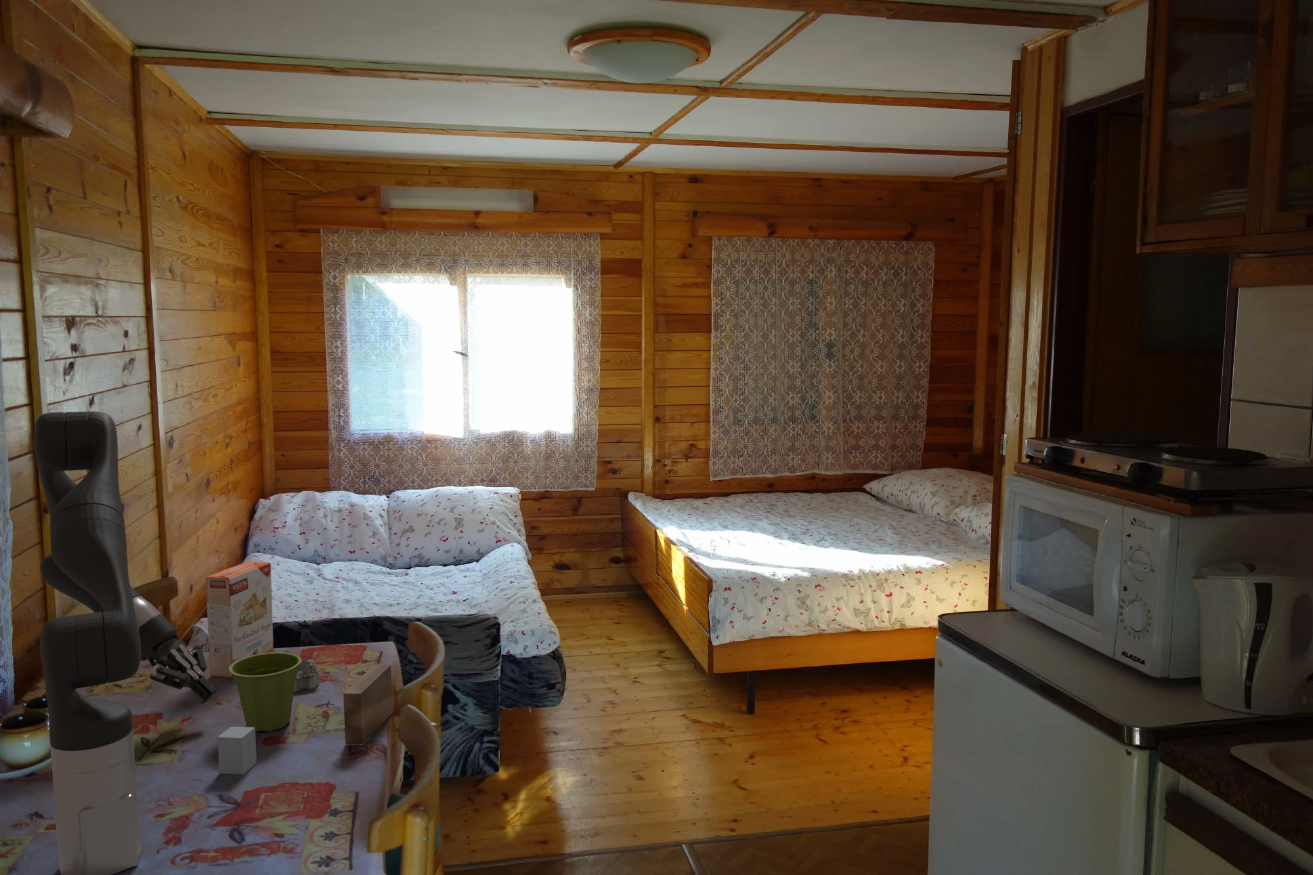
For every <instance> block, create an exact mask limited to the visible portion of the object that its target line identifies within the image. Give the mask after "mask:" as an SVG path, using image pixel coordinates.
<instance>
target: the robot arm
mask: <svg viewBox="0 0 1313 875" xmlns="http://www.w3.org/2000/svg"><path fill="white" fill-rule="evenodd" d="M34 425H35V426H34V428H33V430H34V431H33V433H34V434H33V441H34V456H35V460H36V464H37V465H36V466H37V470H38V473H39V478H40V482H41V486H42V489H43V493H44V496H45V499H46V503H47V506H48V512H49V513H48V514H49V533H50V534H49V538H50V541H49V542H50V553H49V554H48V555H47V556H45V558H43V559H42V561H41V562H40V566H39V570H40V574H41V577H42V579H43V580H44V581H45V582H46V584H48V585H49V586H50V587H51V588H53V589H55V590H56V591H57V592H59V593H61V594H63V595H66V596H68V597H70V598H71V599H74V600H75V601H76V602H79V603H80V604H82V605H83V606H85V607H87V608H88V609H90V610H91V611H92V612H88V613H82V614H80V613H79V614H75V615H74V614H73V615H67V616H58V617H54V618H51V619H48V620H47V621H46V622H45V624H44V625H43V627H42V629H41V633H40V640H39V642H40V643H39V644H40V646H39V647H40V648H39V650H40V651H39V652H40V658H41V667H42V673H43V678H44V686H45V687H44V688H45V694H46V701H47V709H48V710H47V711H48V728H49V732H48V733H49V745H50V746H49V748H50V760H51V776H52V778H51V779H52V788H53V790H52V791H53V803H54V804H53V805H54V816H55V828H56V829H55V830H56V843H57V851H58V853H57V854H58V865H59V874H60V875H115V874H118V873H120V872H122V871H125V870H127V869H131V868H133V867H135V866H138V865H139V857H140V856H141V854H142V848H141V845H142V844H141V830H140V820H139V804H138V803H139V802H138V788H137V787H138V786H137V773H136V760H135V743H134V742H135V741H134V726H133V714H132V713H133V712H132V711H131V708H129V707H128V706H127V705H126V704H123V703H121V702H117V701H112V700H111V701H109V700H103V699H97V698H93V697H91V696H90V697H89V696H87V695H85V694H83V693H80V692H79V691H77V690H76V689H82V688H87V687H94V686H95V687H96V686H99V685H106V684H112V683H117V682H121V681H125V680H127V679H131V678H132V677H133V676H135V675H136V673H137V672H138V670H139V668H140V665H141V662H146V661H148V662H149V664H150V666H151V667H153V669H152V673H151V674H150V675H149V679H150V680H152V681H154V682H158V683H160V684H162V685H165V686H169V687H171V688H175V689H177V690H181V689H183V688H187V689H191V691H192V692H194V694H196V695H197V696H198V697H199V699H201V700H203V701H204V702H208V701H209V700H210V699H212V698H213V697H214V696H215V695H216V694H217V692H218V690H217V689H216V687H215V686H214V685H213V684H212V683H210V682H209V680H208V679H207V678H206V677H205V672H206V671H207V670H208V666H207V663H206V659H205V656H204V652H203V649H202V646H201V645H199V644H195V646H194V647H191V646H187V644H186V643H185V642H184V641H183V640H181V639H179V638H178V636H177V635H178V632H179V631H178V629H177V628H176V627H175V626H174V625H173V624H172V623H171V622H170V621H169V620H168V618H166V617H165V616H164V615H163V614H162V613H161V612H160V611H159V610H158V609H157V608H156V607H155V606H154V605H153V604H152V603H150V601H148V600H147V599H145V598H144V597H143V596H141V594H139V592H137V591H136V589H134V588H133V587H132V586H131V584H130V577H129V563H128V545H127V534H126V524H125V517H124V512H123V505H122V498H121V494H120V493H121V492H120V484H119V443H118V432H117V427H116V424H115V421H114V419H113V418H112V417H111V415H109V414H108V413H106V412H101V411H100V412H99V411H55V412H54V411H53V412H46V413H42V414H41V415H39V416H38V417H37V418H36V422H35V424H34ZM67 471H71V472H72V471H88V473H87V474H86V475H85V476H84V477H83V479H81V480H80V481H79V482H78V483H76V482H75V481H74V480H73V479H72V478H70V477H69V475H68V474H67V473H66V472H67Z"/></svg>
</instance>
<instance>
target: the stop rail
mask: <svg viewBox="0 0 1313 875" xmlns="http://www.w3.org/2000/svg"><path fill="white" fill-rule="evenodd" d="M392 680H393V679H392V664H380V663H379V664H377V663H376V664H374V665H373V666H372V667H371V668H370V669H369V670H366V672H365V673H364V674H363V675H362V676H361V677H359V679H357V680H356V681H355V682H354V683H353V684H352V685H351V686H350V687H348V689H346V690H345V691H344V692H343V695H342V696H343V697H342V698H343V718H344V741H345V742H344V744H363V743H364V742H365V741H366V740H367V739H368V738H369V737H370V736H371V735H372V734H373V735H374V733H375V732H377V730H378V729H379V728H380V727H381V726H382V725H383V723H385V721H386V720H388V719H389V717H390V716H391V715H392V714H393V712H394V711H393V710H394V709H393V707H394V706H393V684H392ZM373 732H374V733H373ZM373 735H372V736H373ZM372 736H371V737H372ZM371 737H370V738H371ZM370 738H369V739H370ZM369 739H368V740H369ZM368 740H367V741H368ZM367 741H366V742H367ZM366 742H365V743H366ZM365 743H364V744H365ZM364 744H363V745H364Z"/></svg>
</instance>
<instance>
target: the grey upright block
mask: <svg viewBox="0 0 1313 875" xmlns="http://www.w3.org/2000/svg"><path fill="white" fill-rule="evenodd" d="M217 750H218V768H219V769H218V770H219V771H218V772H219V774H222V775H245V774H246V773H247V772H248V771H250V770H251V769H252V768H253V767H254V766H256V764H257V744H256V732H255V727H247V726H230V727H229V728H227V729H226V730H225V731H224V732H222V733H221V734H219V735H218V736H217Z"/></svg>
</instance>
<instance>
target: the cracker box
mask: <svg viewBox="0 0 1313 875" xmlns="http://www.w3.org/2000/svg"><path fill="white" fill-rule="evenodd" d="M205 585H206V586H205V589H206V591H205V592H206V614H207V615H206V616H207V636H208V638H207V639H208V661H209V676H210V677H215V678H216V677H219V678H230V679H234V677H233V674H231V673H230V672H229V667H230V666H231V664H233V663H234V662H236V661H238V660H240V659H242V658H245V657H249V656H252V655H257V654H263V653H272V652H274V631H273V630H274V628H273V625H274V623H273V595H272V590H273V589H272V566H271V562H267V561H252V560H251V561H250V560H249V561H245V562H243V563H240V564H237V565H235V566H232V567H228V568H227V569H223V570H221V571H218V572H216V573H213V574H210V575H207V576H206V577H205Z"/></svg>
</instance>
